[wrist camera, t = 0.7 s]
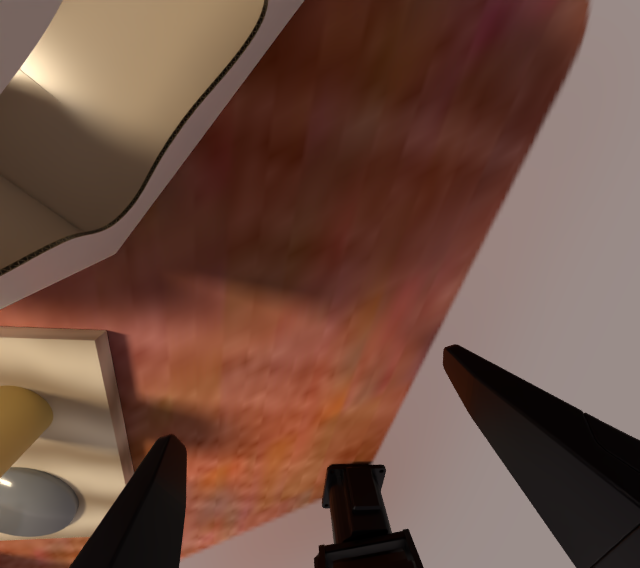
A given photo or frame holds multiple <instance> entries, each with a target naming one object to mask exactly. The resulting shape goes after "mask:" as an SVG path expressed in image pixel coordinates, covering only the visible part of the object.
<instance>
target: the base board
mask: <svg viewBox="0 0 640 568" xmlns="http://www.w3.org/2000/svg"><path fill="white" fill-rule="evenodd" d="M0 386H18V387H22V388H25V389H28V390H30V391H33V392H35V393H36V394H38V395H40V396H41V397H42V398H43V399H45V400H46V401H47V403H48V404H49V405H50V407H51V409H52V412H53V421H52V423H51V425H50V426H49V427H48V428H47V429H46V430H45V431H44V432H43V433H42V434H41V435H40V436H39V438H38V439H37V440H36V441H35V442H34V443H33V444H32V445H31V446H30V447H29V448H28V449H27V450H26V451H25V452H24V453H23V454H22V456H21V457H20V458H19V459H18V460H17V461H16V462H15V463H14V464H13V465H12V466H11V467H23V468H31V469H36V470H40V471H43V472H46V473H49V474H51V475H53V476H56V477H57V478H59V479H61V480H62V481H64V482H65V483H67V484H68V485H69V486H70V487H71V488H72V489H73V490H74V492H75V493H76V495H77V497H78V500H79V508H78V511H77V513H76V515H75V517H74V518H73V520H72V521H71V523H70V524H69V525H68V526H67V527H65V528H64V529H62V530H60V531H58V532H56V533H53V534H49V535H44V536H36V537H22V536H14V535H8V534H4V533H0V541H1V540H24V539H48V538H72V537H91V535H92V534H93V532H94V531H95V529H96V528H97V526H98V525H99V524H100V522H101V521H102V519H103V518H104V516H105V515H106V513H107V512H108V510H109V509H110V508H111V506H112V505H113V503H114V502H115V500H116V499H117V497H118V496H119V494H120V493H121V492H122V490H123V489H124V487H125V486H126V484H127V483H128V481H129V480H130V478H131V477H132V475H133V474H134V470H133V465H132V460H131V454H130V449H129V444H128V439H127V434H126V429H125V423H124V418H123V413H122V408H121V403H120V398H119V393H118V387H117V382H116V377H115V372H114V367H113V362H112V356H111V351H110V346H109V341H108V336H107V331H106V330H84V329H57V328H30V327H3V326H0Z"/></svg>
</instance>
